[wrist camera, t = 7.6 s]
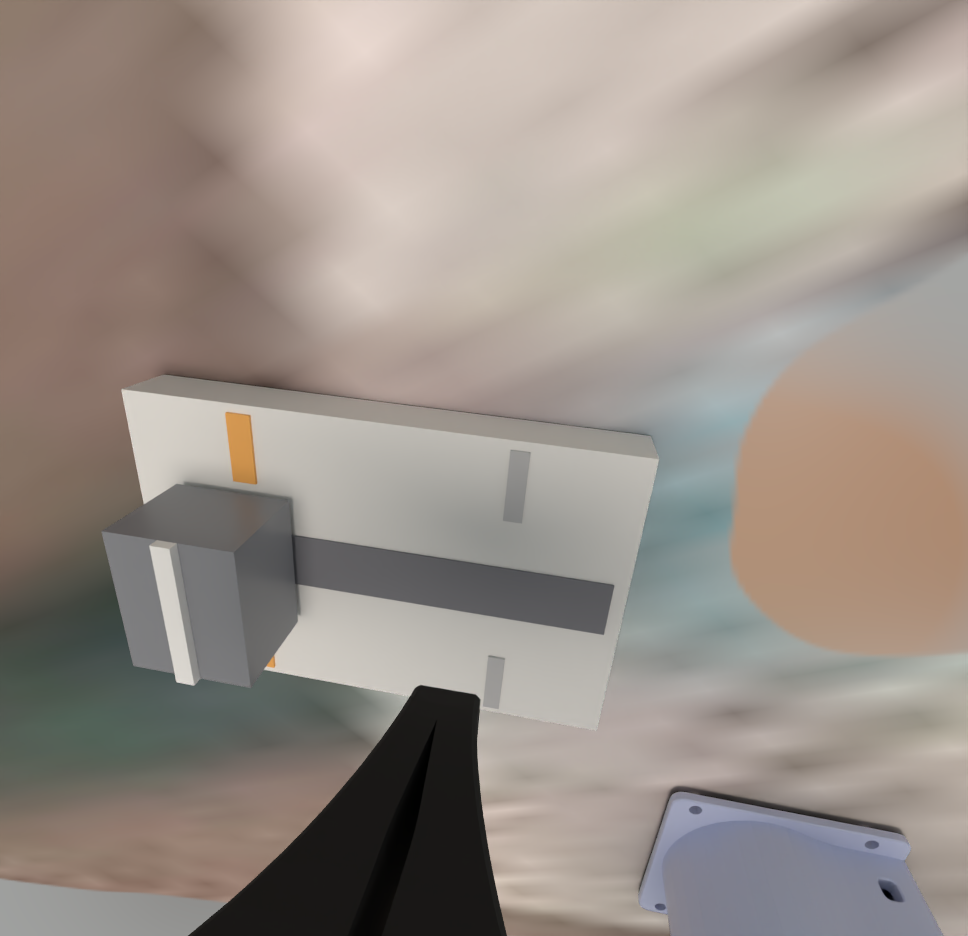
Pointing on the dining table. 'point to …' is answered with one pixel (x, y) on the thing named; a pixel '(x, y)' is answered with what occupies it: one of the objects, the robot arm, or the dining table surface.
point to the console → (424, 535)
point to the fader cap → (205, 583)
